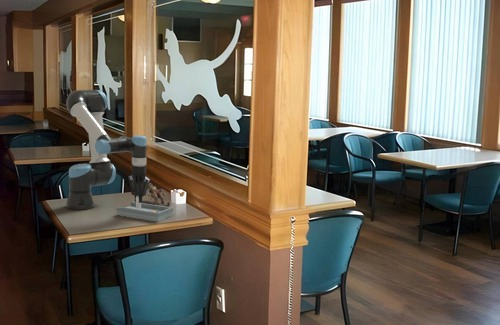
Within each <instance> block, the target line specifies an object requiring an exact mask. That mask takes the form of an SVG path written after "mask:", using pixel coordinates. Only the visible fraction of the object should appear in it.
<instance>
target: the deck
mask: <svg viewBox="0 0 500 325" xmlns="http://www.w3.org/2000/svg"><path fill="white" fill-rule="evenodd" d="M173 210H174V208H173V207H172V206H171V207H170V206H169V207H165V206H164V205H159V206H158V205H155V204H152V203H150V204H149V203H143V202H142V203H141V208H140V209H136V202H135V201H131V202H130V205H129V206H125V207H124V206H123V207H122V206H116V216H118V215H120V217H125V216H126V218H132V219H139V220H145V221H151V222H156V223H159V222H162V221H164V220H166V219H169V218H171V217H173V215H174V214H173V213H174V211H173ZM151 211H156V212H151Z"/></svg>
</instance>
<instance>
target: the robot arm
mask: <svg viewBox="0 0 500 325" xmlns="http://www.w3.org/2000/svg"><path fill="white" fill-rule="evenodd" d="M65 101H66V102H65V103H66V104H65V105H66V108H67V111H68V112H69V113H70V115H71V116H72V117H75V118H76V119H77V121H78V123H79V124H80V125H81V126H82V127H83V128H84V129H85V131H86V132H87V133H88V140H89V149H90V156H91V157H90V158H91V160H90V161H89V163H78V164H74V165H72V166H70V167H69V169H68V187H69V188H68V189H69V190H68V191H69V194H68V197H67V200H66V202H65V207H66V208H67V209H69V210H75V211H76V210H79V211H80V210H90V209H93V208H94V207H95V204H96V203H95V200H94V198H93V194H92V187H97V186H105V185H108V184H111V183H113V182H114V180H115V179H116V175H117V174H116V172H117V170H116V167H115V166H114V164H113V163H111V159H109V158H108V155H110V154H115V153H127V152H128V153H131V174H130V175H129V176H127V179H128V183H129V187H130V192H131V193H130V194H131V195H132V196H133V197H134V202H136V209H140V208H141V203H143V197H144V196H146V195H147V188H148V184H149V183H151V182H150V181H151V178H148V177H147V174H146V173H147V148H148V147H147V146H148V143H147V141H148V140H147V136H145V135H139V134H138V135H137V134H136V135H133V136H132V137H129V136H120V137H117V138H115V137H114V138H111V137H110V136H109V134H107V132H106V131H105V129H104V120H103V115H104V114H105V111H106V109H107V108H108V104H109V103H108V97H107V95H106V94H105V93H104V92H103V91H102V90H99V89H79V90H78V89H77V90H73V91H72V92H70V93H69V95H68V96H67V98H66V100H65Z"/></svg>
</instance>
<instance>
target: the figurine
mask: <svg viewBox="0 0 500 325" xmlns="http://www.w3.org/2000/svg"><path fill="white" fill-rule="evenodd" d="M158 189H159V190H158ZM146 194H147V195H148V196H149V197H151V199H154V205H158V206H160V204H159V199H160V201H161V202H160V203H161V204H162V206H165V207H170V202H169V201H167V203H166V201H165V198H164V197H166V195H167V194H166V193H165V192H163V191H162V190H161V186H159V187H158V188H157V187H156V186H154V185H153V184H152V182H149V183H148V188H147V192H146Z"/></svg>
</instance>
